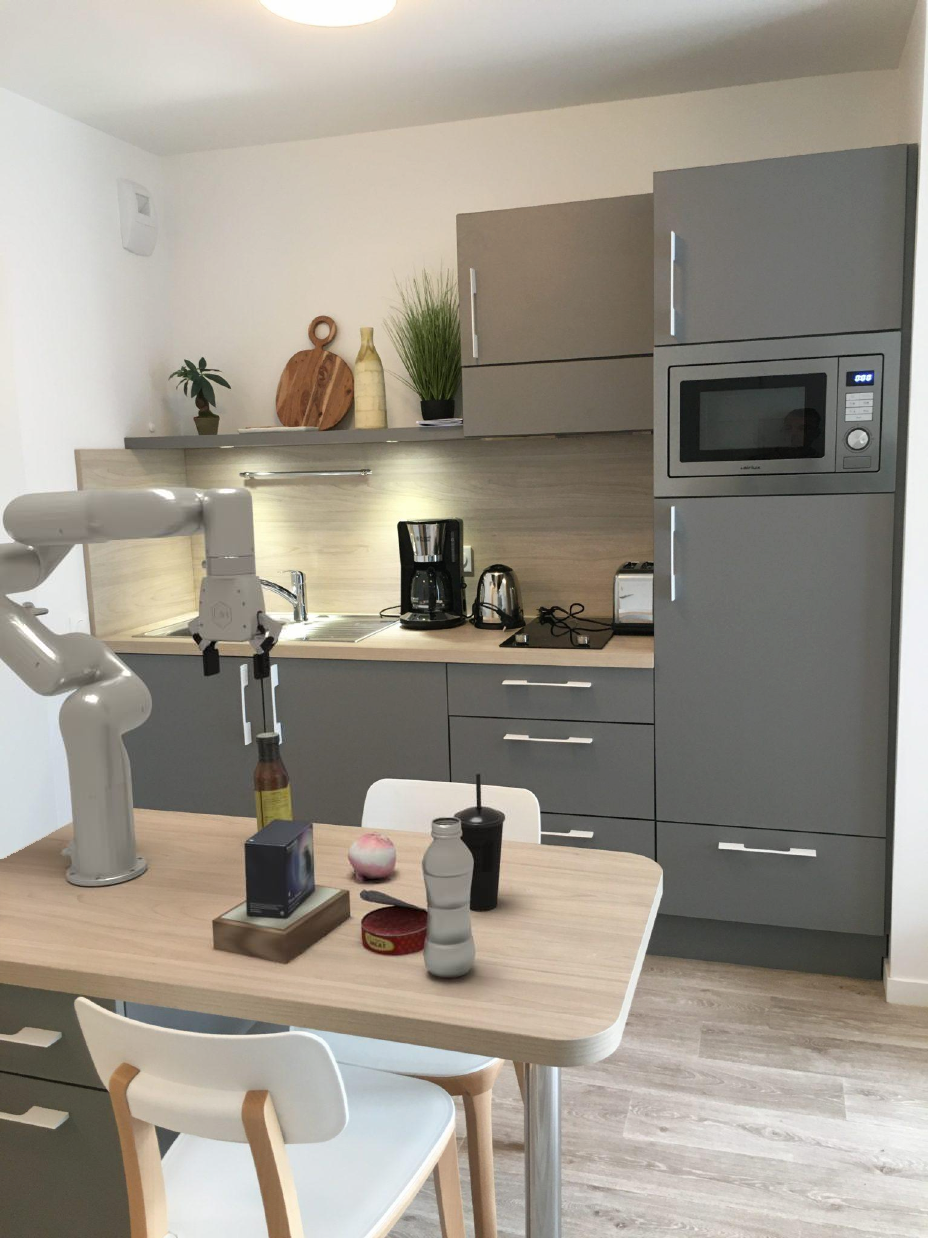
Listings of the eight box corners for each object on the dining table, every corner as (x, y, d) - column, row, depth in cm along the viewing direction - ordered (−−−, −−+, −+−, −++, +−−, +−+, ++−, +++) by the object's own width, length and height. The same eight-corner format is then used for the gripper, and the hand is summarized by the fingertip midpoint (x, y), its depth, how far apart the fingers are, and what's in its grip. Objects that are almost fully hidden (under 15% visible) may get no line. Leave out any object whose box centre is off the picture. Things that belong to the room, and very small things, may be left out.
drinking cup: (514, 899, 151) (512, 770, 149) (494, 918, 144) (491, 783, 142) (468, 891, 155) (465, 765, 152) (447, 910, 148) (443, 778, 145)
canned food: (362, 970, 140) (343, 899, 143) (428, 948, 144) (409, 879, 146) (380, 965, 130) (359, 889, 133) (451, 941, 134) (429, 868, 136)
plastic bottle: (422, 962, 131) (417, 814, 129) (474, 959, 132) (470, 812, 130) (424, 986, 125) (419, 831, 123) (478, 982, 126) (475, 828, 123)
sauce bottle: (301, 841, 179) (296, 732, 177) (277, 852, 174) (271, 740, 172) (274, 835, 183) (268, 729, 180) (249, 846, 178) (243, 736, 175)
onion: (403, 878, 163) (409, 841, 161) (369, 897, 158) (374, 860, 155) (368, 853, 168) (374, 818, 165) (334, 871, 162) (339, 834, 159)
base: (213, 948, 137) (212, 918, 137) (282, 904, 151) (281, 877, 151) (286, 963, 132) (285, 932, 132) (350, 916, 146) (349, 888, 146)
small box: (289, 920, 136) (285, 845, 134) (244, 916, 137) (240, 842, 136) (318, 890, 146) (314, 820, 144) (276, 887, 147) (272, 818, 146)
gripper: (170, 569, 156) (177, 677, 158) (262, 570, 148) (267, 684, 150) (202, 565, 162) (208, 669, 165) (291, 566, 155) (296, 675, 157)
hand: (236, 676), depth 157 cm, fingers open, 9 cm apart
